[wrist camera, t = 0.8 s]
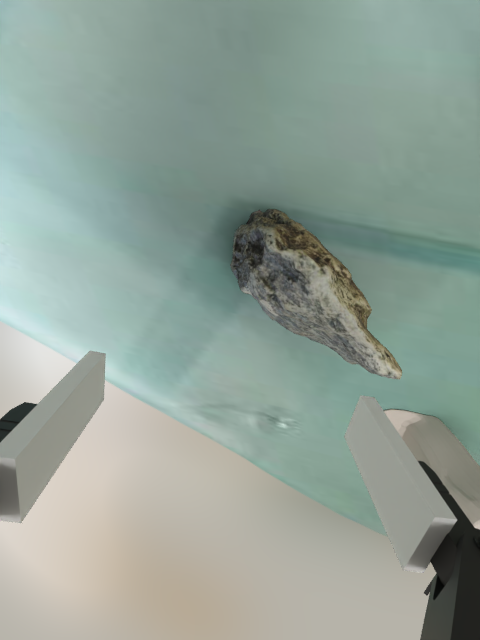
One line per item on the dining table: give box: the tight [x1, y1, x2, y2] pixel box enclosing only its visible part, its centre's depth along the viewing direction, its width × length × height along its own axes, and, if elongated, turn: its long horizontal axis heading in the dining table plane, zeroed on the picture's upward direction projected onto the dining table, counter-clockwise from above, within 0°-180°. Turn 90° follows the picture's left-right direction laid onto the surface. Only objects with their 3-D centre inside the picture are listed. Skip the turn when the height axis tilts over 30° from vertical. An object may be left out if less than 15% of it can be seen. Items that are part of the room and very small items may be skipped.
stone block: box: [230, 209, 402, 379], centre depth 31 cm, size 18×9×20 cm, turn 48°
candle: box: [384, 409, 480, 529], centre depth 40 cm, size 7×14×20 cm, turn 76°
